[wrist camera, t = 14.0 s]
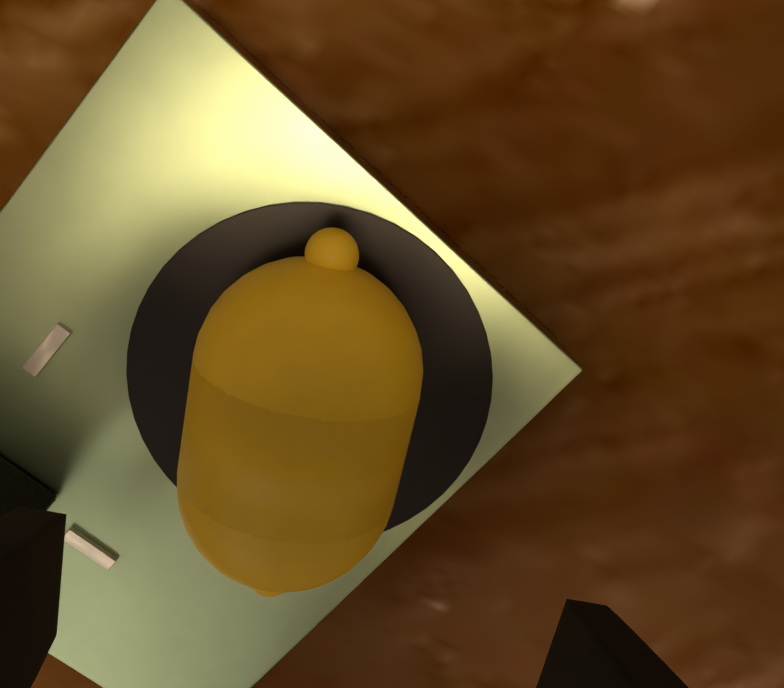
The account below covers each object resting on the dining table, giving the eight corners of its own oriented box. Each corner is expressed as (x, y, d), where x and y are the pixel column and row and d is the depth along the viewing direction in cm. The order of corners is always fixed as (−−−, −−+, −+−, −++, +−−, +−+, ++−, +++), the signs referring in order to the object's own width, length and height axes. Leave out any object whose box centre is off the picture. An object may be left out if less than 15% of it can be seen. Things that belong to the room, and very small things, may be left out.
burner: (331, 597, 18) (330, 603, 17) (56, 397, 16) (52, 401, 16) (565, 371, 16) (568, 374, 16) (287, 116, 14) (286, 115, 14)
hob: (194, 696, 22) (171, 769, 19) (-217, 429, 18) (-307, 475, 16) (557, 339, 18) (586, 372, 16) (128, -60, 15) (80, -96, 13)
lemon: (368, 548, 17) (365, 686, 13) (191, 517, 17) (129, 650, 12) (443, 235, 15) (470, 278, 10) (239, 190, 14) (182, 218, 10)
